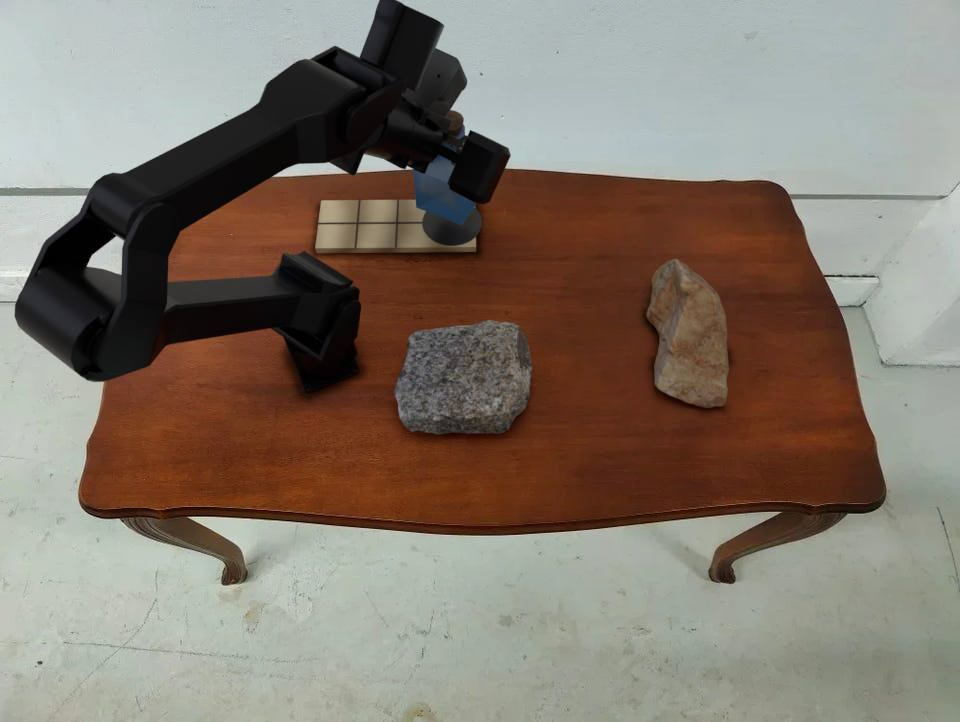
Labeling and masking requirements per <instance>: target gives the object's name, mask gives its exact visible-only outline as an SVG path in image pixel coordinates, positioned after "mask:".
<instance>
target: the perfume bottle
mask: <svg viewBox="0 0 960 722" xmlns="http://www.w3.org/2000/svg"><path fill="white" fill-rule="evenodd" d="M446 117H447V118H449V119H451V120H452V122H451V124H450V127H449V129H448V131H447V132H446V133H448V134H450V135H452V136H454V137H456V138H458V139H460V138H461V137H462V136H464V135H466V126H465V123H464V122H465V121H464V120H465V118H464V116H463V114H462V113H461V112H458V111H457V110H453V109H450V111H449V112H448V113H447V115H446ZM444 132H445V131H444ZM443 145H444V146H446V147H448V148H450V149H452V150H454V151H456V150H457V149H455V148H456V147H455V148H453V147H452V146H449V144H448V145H447V144H446V143H443ZM450 164H451V161H450V160H448V159H446V158H444V157H442V156H440V155H438V156H437V157H436V159H435V160H434V162H433V163H432V164H431V163H429V166H428V168H427V170H426V173H425V174H423V173H420V172H418V171H416V170H414V169H412V172H413V185H414V196H415V199H414V200H416V208H419V209H421V210H424V211H426V212H429V213H432V214H434V215H437V216H439V217H442V218H444V219H447V220H450V221H452V222H455V223H457V224H460V225H462V224H463V223H464V221H465V220H466V219H467V217H468V216H469V214H470V213H471V211H472V210H473V208H474V207H475V208H476V205H478V204H477V203H474V202H472V201H471V200H469V199H467V198H465V197H463V196H461V195H459V194H457V193H456V192H454V191H452V190H450V189H449V185H448V184H447V182H448V180H449V178H450V175H451V173H452V171H453V168H454V166H452V165H450Z"/></svg>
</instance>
